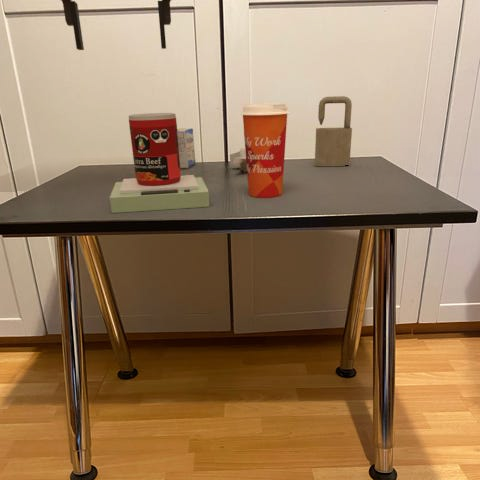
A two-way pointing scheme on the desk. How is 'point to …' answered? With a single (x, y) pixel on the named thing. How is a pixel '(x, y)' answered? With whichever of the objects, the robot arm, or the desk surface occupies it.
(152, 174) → the canned food
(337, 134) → the padlock
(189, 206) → the scale
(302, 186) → the desk surface
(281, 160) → the coffee cup
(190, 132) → the medicine box
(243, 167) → the bunny figurine
